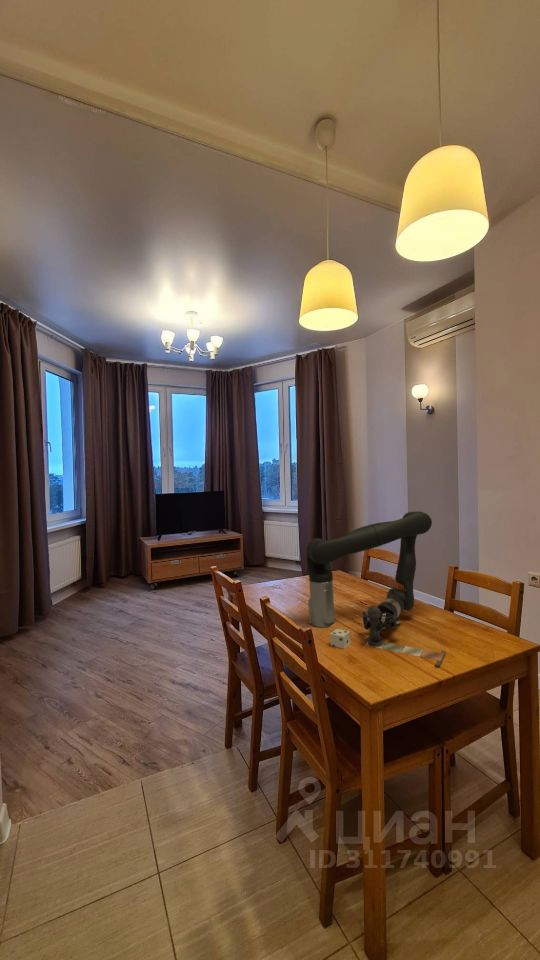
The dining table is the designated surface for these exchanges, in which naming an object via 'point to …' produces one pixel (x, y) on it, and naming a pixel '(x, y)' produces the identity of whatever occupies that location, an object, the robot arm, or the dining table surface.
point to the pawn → (374, 626)
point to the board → (414, 652)
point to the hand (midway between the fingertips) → (371, 627)
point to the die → (340, 638)
